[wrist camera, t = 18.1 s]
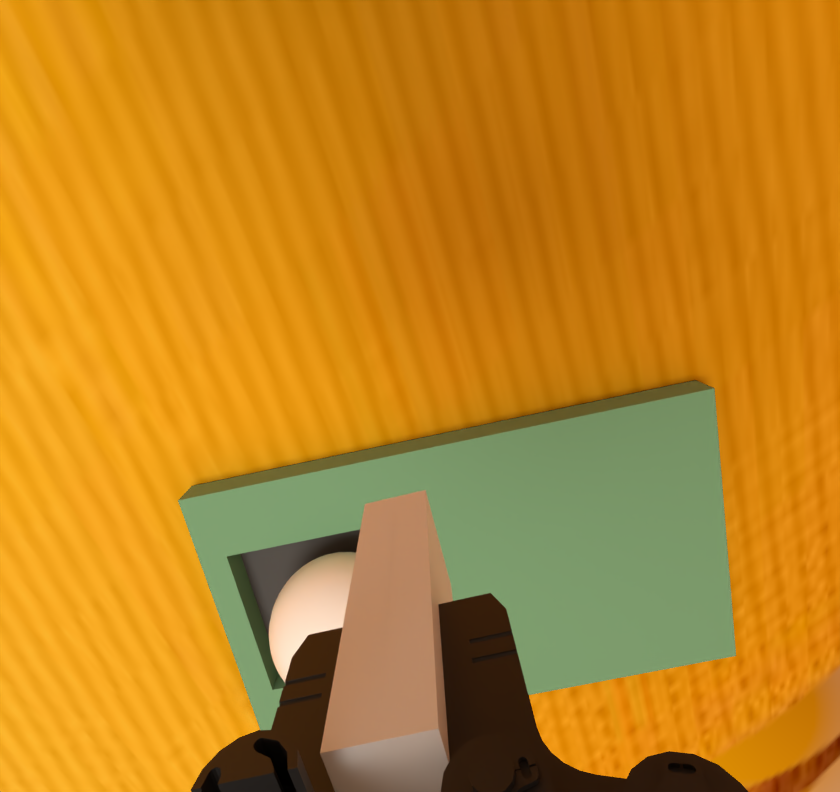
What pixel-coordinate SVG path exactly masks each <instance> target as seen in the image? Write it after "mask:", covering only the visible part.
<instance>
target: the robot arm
mask: <svg viewBox="0 0 840 792" xmlns="http://www.w3.org/2000/svg"><path fill="white" fill-rule="evenodd" d="M279 705H280V706H279V707H277V711H276V714H275V718H274V721H273V725H272V728H271V730H258V731H256V732H253V733H250V734H248V735H245V736H242V737H240V738H238V739H237V740H235V741H234V742H232V743H231V744H229V745H228V746H226V747H225V748H223V749H222V750H221V751H219V752H218V753H217V754H216V756H215V757H214V758H213V759H212V760H211V761H210V762H209V763H208V764H207V765H206V766H205V767H204V768H203V770H202V771H201V773H200V775H199V777H198V778H197V780H196V782H195V784H194V785H193V787H192V789H191V792H748V791H747V790H746V789H745V788H744V787H743V785H742V784H741V783H740V782H738V781H737V780H736V779H735V778H734V777H732V776H731V775H730V774H729V773H728V772H726V771H725V770H724V769H723V768H721V767H720V766H719V765H717V764H715V763H713V762H710V761H708V760H706V759H704V758H701V757H699V756H697V755H694V754H687V753H679V752H670V751H669V752H665V753H661V754H657V755H652V756H648V757H647V758H645V759H644V760H643V761H641V762H640V763H639V764H638V765H636V766H635V767H634V768H632V769H631V771H630V773H629V775H628V778H627V779H623V778H616V777H608V776H601V775H595V774H591V773H587V772H583V771H579V770H577V769H575V768H573V767H571V766H569V765H567V764H565V763H563V762H562V761H561V760H560V759H558V758H557V757H556V756H555V755H554V754H552V753H551V752H550V750H549V749H548V748H547V746H546V745H545V744H544V742H543V741H542V739H541V737H540V734H539V732H538V729H537V727H536V723H535V719H534V715H533V711H532V707H531V703H530V699H529V695H528V691H527V688H526V684H525V680H524V676H523V672H522V668H521V664H520V660H519V656H518V653H517V649H516V645H515V641H514V637H513V633H512V629H511V625H510V621H509V617H508V614H507V610H506V608H505V607H504V606H503V605H502V604H501V603H500V602H499V601H498V600H497V599H496V598H495V597H494V596H493V595H492V594H491V593H487V594H483V595H478V596H473V597H469V598H464V599H460V600H455V601H453V597H452V588H451V583H450V579H449V576H448V572H447V568H446V564H445V561H444V557H443V553H442V550H441V546H440V542H439V538H438V535H437V531H436V527H435V523H434V520H433V516H432V512H431V509H430V505H429V501H428V497H427V494H426V490H423V491H419V492H414V493H410V494H406V495H401V496H397V497H393V498H388V499H384V500H380V501H375V502H371V503H367V504H365V506H364V512H363V517H362V523H361V528H360V534H359V539H358V545H357V551H356V556H355V562H354V567H353V573H352V578H351V584H350V589H349V595H348V601H347V606H346V612H345V617H344V623H343V627H342V628H337V629H333V630H328V631H324V632H319V633H314V634H310V635H308V636H307V637H306V639H305V640H304V642H303V643H302V644H301V646H300V647H299V648H298V650H297V651H296V653H295V654H294V655H293V657H292V659H291V662H290V666H289V669H288V673H287V676H286V680H285V686H284V687H283V690H282V694H281V697H280V700H279Z"/></svg>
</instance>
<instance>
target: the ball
mask: <svg viewBox="0 0 840 792" xmlns="http://www.w3.org/2000/svg"><path fill="white" fill-rule="evenodd" d="M355 556H356V553H355V552H336V553H331V554H327V555H324V556H321V557H318V558H316V559H314V560H312V561H310V562H309V563H307V564H306V565H304V566H303V567H301V568H300V569H299V570H298V571H297V572H295V573H294V574H293V575H292V576H291V578H290V579H289V580H288V581H287V582H286V584H285V585H284V587H283V588H282V590H281V591H280V593H279V595H278V597H277V599H276V602H275V604H274V607H273V610H272V614H271V619H270V624H269V645H270V651H271V655H272V659H273V662H274V665H275V667H276V669H277V671H278V673H279V675H280V676H281V678H282V679H283V681H284V682H285V680H286V676H287V673H288V669H289V666H290V662H291V659H292V657H293V655H294V654H295V653H296V651H297V650H298V648H299V647H300V646H301V644H302V643H303V642H304V640H305V639H306V637H307V636H308V635H310V634H314V633H319V632H324V631H328V630H333V629H337V628H342V627H343V623H344V617H345V612H346V606H347V601H348V595H349V589H350V584H351V578H352V573H353V567H354V562H355Z"/></svg>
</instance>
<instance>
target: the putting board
mask: <svg viewBox="0 0 840 792" xmlns="http://www.w3.org/2000/svg"><path fill="white" fill-rule="evenodd" d="M423 490H426V494H427V497H428V501H429V505H430V509H431V512H432V516H433V520H434V523H435V527H436V531H437V535H438V538H439V542H440V546H441V550H442V553H443V557H444V561H445V564H446V568H447V572H448V576H449V579H450V583H451V588H452V597H453V601H455V600H460V599H464V598H469V597H473V596H478V595H483V594H487V593H491V594H492V595H493V596H494V597H495V598H496V599H497V600H498V601H499V602H500V603H501V604H502V605H503V606H504V607H505V608H506V610H507V614H508V617H509V621H510V625H511V629H512V633H513V637H514V641H515V645H516V649H517V653H518V656H519V660H520V664H521V668H522V672H523V676H524V680H525V684H526V688H527V691H528V695H531V694H536V693H542V692H547V691H552V690H557V689H563V688H568V687H573V686H579V685H584V684H589V683H594V682H600V681H605V680H610V679H616V678H621V677H626V676H631V675H637V674H642V673H647V672H652V671H658V670H663V669H668V668H674V667H679V666H684V665H689V664H695V663H700V662H705V661H711V660H716V659H721V658H726V657H732V656H736V650H735V638H734V625H733V613H732V601H731V588H730V576H729V564H728V551H727V539H726V527H725V514H724V502H723V489H722V477H721V465H720V452H719V440H718V428H717V415H716V403H715V391H714V388H712V387H710V386H708V385H706V384H703V383H701V382H699V381H696V380H694V381H689V382H685V383H680V384H675V385H670V386H666V387H661V388H656V389H651V390H647V391H642V392H637V393H632V394H627V395H623V396H618V397H613V398H608V399H604V400H599V401H594V402H589V403H585V404H580V405H575V406H570V407H566V408H561V409H556V410H551V411H547V412H542V413H537V414H532V415H528V416H523V417H518V418H513V419H509V420H504V421H499V422H494V423H489V424H485V425H480V426H475V427H470V428H466V429H461V430H456V431H451V432H447V433H442V434H437V435H432V436H428V437H423V438H418V439H413V440H409V441H404V442H399V443H394V444H390V445H385V446H380V447H375V448H370V449H366V450H361V451H356V452H351V453H347V454H342V455H337V456H332V457H328V458H323V459H318V460H313V461H309V462H304V463H299V464H294V465H290V466H285V467H280V468H275V469H271V470H266V471H261V472H256V473H252V474H247V475H242V476H237V477H232V478H228V479H223V480H218V481H213V482H209V483H204V484H199V485H194V486H192V487H191V488H190V489H189V490H188V491H187V492H186V493H185V494H184V495H183V496H182V497H181V498H180V499H179V500H178V502H179V504H180V507H181V510H182V513H183V515H184V518H185V521H186V524H187V527H188V529H189V532H190V535H191V538H192V541H193V543H194V546H195V549H196V552H197V554H198V557H199V560H200V563H201V566H202V568H203V571H204V574H205V577H206V579H207V582H208V585H209V588H210V591H211V593H212V596H213V599H214V602H215V605H216V607H217V610H218V613H219V616H220V618H221V621H222V624H223V627H224V630H225V632H226V635H227V638H228V641H229V643H230V646H231V649H232V652H233V655H234V657H235V660H236V663H237V666H238V668H239V671H240V674H241V677H242V680H243V682H244V685H245V688H246V691H247V694H248V696H249V699H250V702H251V705H252V707H253V710H254V713H255V716H256V719H257V721H258V724H259V727H260V730H271V728H272V725H273V721H274V718H275V714H276V711H277V707H279V706H280V705H279V700H280V697H281V694H282V690H283V687H284V686H285V682H284V681H283V679H282V678H281V676H280V675H279V673H278V671H277V669H276V667H275V665H274V662H273V659H272V655H271V651H270V645H269V624H270V619H271V614H272V610H273V607H274V604H275V602H276V599H277V597H278V595H279V593H280V591H281V590H282V588H283V587H284V585H285V584H286V582H287V581H288V580H289V579H290V578H291V576H292V575H293V574H294V573H295V572H297V571H298V570H299V569H300V568H301V567H303V566H304V565H306V564H307V563H309V562H310V561H312V560H314V559H316V558H318V557H321V556H324V555H327V554H331V553H336V552H355V553H356V551H357V545H358V539H359V534H360V528H361V523H362V517H363V512H364V506H365V504H367V503H371V502H375V501H380V500H384V499H388V498H393V497H397V496H401V495H406V494H410V493H414V492H419V491H423Z"/></svg>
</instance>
